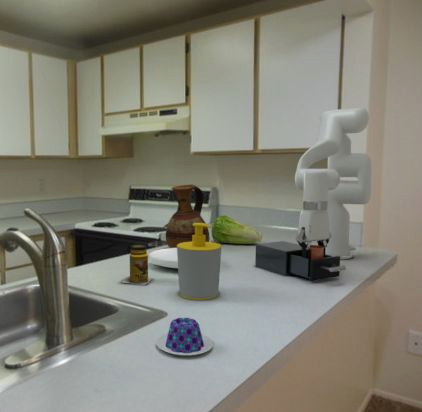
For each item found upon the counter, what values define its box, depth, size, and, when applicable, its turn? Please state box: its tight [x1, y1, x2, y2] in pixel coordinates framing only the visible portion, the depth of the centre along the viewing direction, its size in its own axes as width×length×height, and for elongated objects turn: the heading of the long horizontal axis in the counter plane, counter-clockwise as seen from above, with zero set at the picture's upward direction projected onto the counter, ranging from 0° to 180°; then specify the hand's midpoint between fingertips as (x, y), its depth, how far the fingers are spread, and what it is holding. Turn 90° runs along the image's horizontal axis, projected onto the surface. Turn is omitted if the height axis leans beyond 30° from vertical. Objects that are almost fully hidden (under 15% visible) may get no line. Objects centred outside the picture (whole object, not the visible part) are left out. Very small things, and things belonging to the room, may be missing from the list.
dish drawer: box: [287, 252, 347, 282], centre depth 137 cm, size 19×12×7 cm, turn 25°
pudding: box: [155, 317, 214, 356], centre depth 86 cm, size 12×12×5 cm
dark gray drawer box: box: [254, 240, 302, 277], centre depth 150 cm, size 16×14×9 cm
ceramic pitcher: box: [165, 184, 210, 248], centre depth 186 cm, size 20×20×30 cm
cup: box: [309, 244, 324, 259], centre depth 138 cm, size 6×6×5 cm
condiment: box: [121, 244, 152, 286], centre depth 136 cm, size 7×8×12 cm
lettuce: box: [211, 214, 263, 245], centre depth 201 cm, size 14×24×14 cm
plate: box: [148, 247, 178, 269], centre depth 157 cm, size 28×6×27 cm
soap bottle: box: [177, 222, 222, 301], centre depth 121 cm, size 13×13×21 cm
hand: (313, 259), depth 138 cm, fingers closed on cup, 6 cm apart
